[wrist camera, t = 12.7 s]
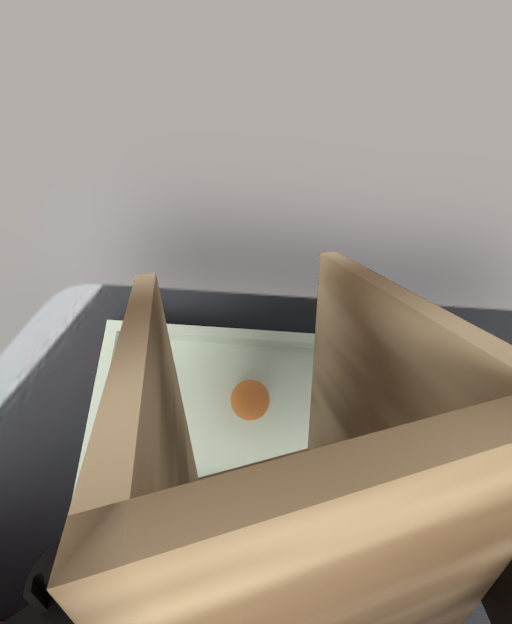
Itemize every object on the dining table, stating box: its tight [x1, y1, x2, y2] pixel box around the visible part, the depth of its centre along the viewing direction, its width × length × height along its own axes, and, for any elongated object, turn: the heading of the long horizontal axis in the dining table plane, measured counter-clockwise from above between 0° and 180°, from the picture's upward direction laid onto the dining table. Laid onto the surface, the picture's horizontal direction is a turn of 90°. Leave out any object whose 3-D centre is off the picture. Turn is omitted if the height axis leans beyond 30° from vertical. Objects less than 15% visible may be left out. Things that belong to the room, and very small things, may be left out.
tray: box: [71, 320, 315, 502], centre depth 23 cm, size 20×13×3 cm, turn 89°
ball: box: [231, 380, 270, 420], centre depth 23 cm, size 3×3×3 cm
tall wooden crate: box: [46, 251, 512, 624], centre depth 9 cm, size 8×7×12 cm
